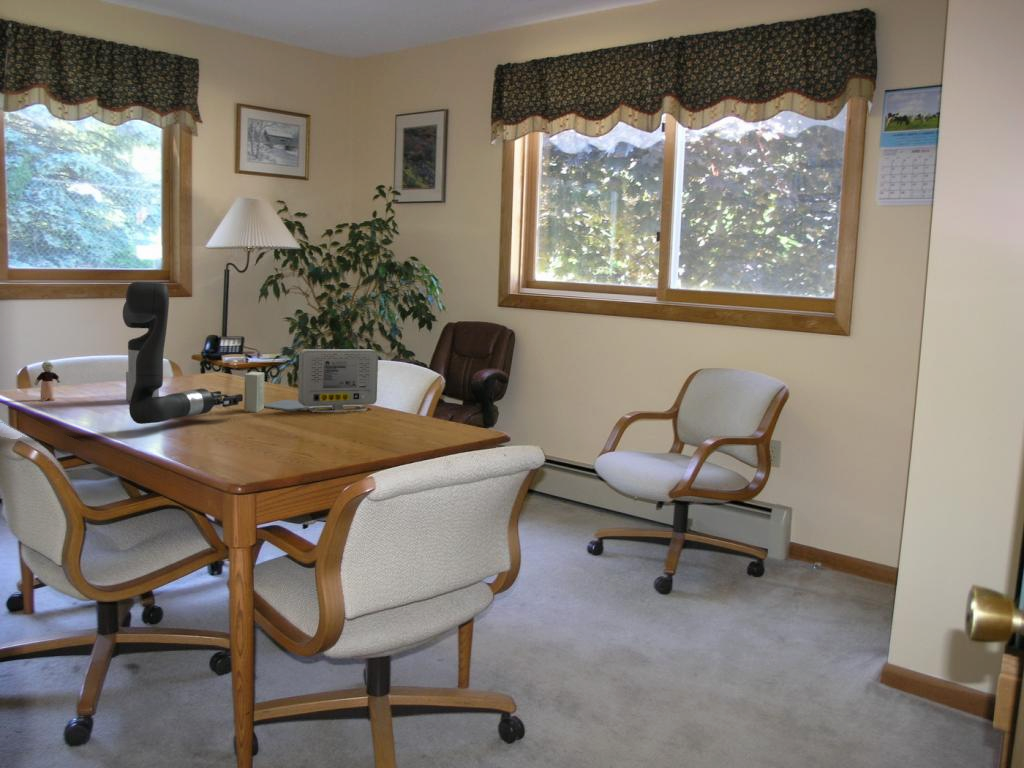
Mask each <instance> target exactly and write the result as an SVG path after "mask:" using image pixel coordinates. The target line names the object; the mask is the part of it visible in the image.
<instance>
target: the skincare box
mask: <svg viewBox="0 0 1024 768" xmlns="http://www.w3.org/2000/svg"><path fill="white" fill-rule="evenodd" d="M243 400H244V401H243V402H244V403H243V404H244V405H243V406H244V407H243V410H244V412H248V411H249V412H250V413H257V412H261V411H262V410H264V409H265V408H264V404H265V372H260V371H259V372H258V371H250V372H247V373H245V374H244V394H243ZM249 412H248V413H249Z"/></svg>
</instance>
